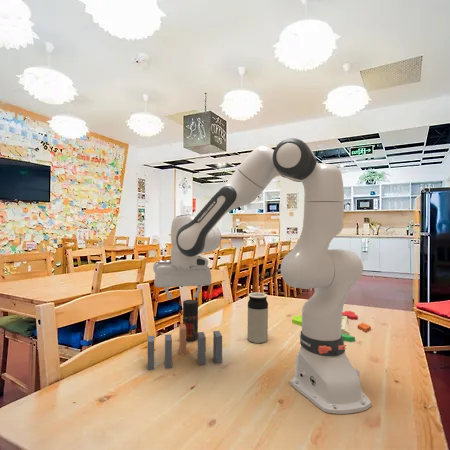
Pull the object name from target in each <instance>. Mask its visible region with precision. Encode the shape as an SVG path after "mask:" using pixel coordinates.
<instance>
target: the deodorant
mask: <svg viewBox="0 0 450 450" xmlns="http://www.w3.org/2000/svg"><path fill="white" fill-rule="evenodd" d="M182 324H185V326H186V343H193V342H194V343H195V342H196V341H197V342H198V332H199V300H198V299H197V300H196V299H185V300H183V301H182Z"/></svg>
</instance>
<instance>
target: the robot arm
mask: <svg viewBox="0 0 450 450" xmlns="http://www.w3.org/2000/svg"><path fill="white" fill-rule="evenodd" d="M276 177H282V178H285V179H287V180H290V181H293V182H298V183H301V184H302V185H303V189H304V192H303V193H304V195H303V197H304V199H303V200H304V201H303V218H302V219H303V220H302V221H303V222H302V228H301V229H302V230H301V233H300V235H299V239H298V240H297V242H296V244H295V246H293V248H292V249H291V250H290V251H289V252H288V253H287V254H286V255H285V256H284V257H282V261H281V264H280V274H281V278H282V279H283V281H284V283H285V284H286V285H287V286H288V287H290V288H295V289H296V288H297V289H303V290H307V289H309V290H310V289H315V291H314V293H313V294H312V296H311V297H310V298H308V299H307V300H306V301H305V302H304V304H303V306H302V310H301V316H302V326H301V331H300V335H299V340H300V341H299V344H300V349H299V350H298V352H297V353H296V356H295V357H296V358H295V363H294V364H295V367H294V374H293V375H294V376H293V377H291V379H290V381H289V384H290V386H292V387H293V388H294V389H296V390H297V391H298V392H299V393H301V394H302V395H303V396H304V397H305V398H307V399H308V400H309V401H310V402H312V403H313V404H314V405H315V406H316V407H318V408H319V409H320V410H321V411H323V412H325V413H329V414H335V415H336V414H337V415H343V414H345V415H346V414H353V413H359V412H363V411H366V410H367V409H370V408H371V406H372V400H370V398H369V397H368V396H367V394H366V393H365V392H364V391H363V390H362V385H361V383H362V382H361V379H360V371H359V369H358V368H354V366H353V364H352V362H351V361H350V359H349V357H348V356H347V354H346V350H347V348H346V347H347V345H346V344H345V341H343V337H342V335H341V323H342V312H343V308H344V305H345V303H346V300H347V297H348V295H349V293H350V291H351V289H352V288H353V287H354V285H355V284H356V283H357V282H359V280H360V279H361V278H362V276H363V272H364V265H363V262H362V259H361V257H360V256H359V255H358V254H357V253H356V252H354V251H350V250H345V249H340V248H337V249H336V248H335V249H334V248H333V249H329V246H330V244H331V242H332V240H333V239H334V238H335V237H336V236H337V235H339V234H341V232H342V231H343V229H344V218H345V217H344V216H345V215H344V212H345V211H344V210H345V208H344V207H345V203H344V202H345V191H344V181H343V176H342V171H341V169H340V168H339V167H337V166H336V165H334V164H331V163H320V162H318V160H317V157H316V155H315V153H314V151H313V149H312V148H311V147H310V146H309V145H308V144H307V143H306V142H304V141H303V140H301V139H298V138H293V137H292V138H286V139H284V140H281V141H280V142H279V143H278V144H277V145H276V146H275V148H274V149H273V148H271V147H269V146H268V145H267V146H266V145H259V146H257V147H255V149H253V150H252V151H251V152H250V153H248V155H247V156H246V157H245V158H244V160H242V162H241V163H240V164H239V165H238V167H237V168H236V169H235V171H234V172H233V173H232V174H231V175H230V177H229V178H228V180H227V181H225V183H224V184H223V186H222V187H221V188H220V189H219V190H218V191H216V193H215V194H214V195H213V196H212V197H211V198H210V199H209V200H208V201H207V203H205V206H203V208H202V209H201V210H200V211H199V212H198V213H197V215H196V216H195V215H194V214H182V215H181V214H180V215H177V216H175V217H174V218H173V219H172V222H171V228H170V229H171V230H170V241H171V249H170V259H169V260H168V259H167V260H158V261H155V263H154V264H153V268H152V269H153V273H154V282H153V283H154V286H155V287H156V288H164V291H165V293H166V295H167V300H173V293H170V292H169V290H170V289H169V288H172V287H173V288H174V287H175V288H177V287H196V288H197V289H196V291H195V292H193V299H199V294H200V292H201V290H202V288H203V286H204V287H205V286H210V285H211V283H212V271H211V269H210V267H209V266H208V264H209V259H208V258H206V257H203V256H200V254H206V253H209V252H210V253H211V252H213V251H215V250H216V249H218V248H219V246H220V245H221V243H222V234H221V232H220V230H219V228H218V227H217V226H216V225H217V224H218V223H219V222H220V220H221V219H222V218H223V217H224V216H225V215H226V214H227V213H229V212H230V211H232V210H235V209H237V208H240V207H244V206H246V205H250V204H251V203H252V202H254V201H255V200H256V199H257V198H258V197H259V196H260V195H261V194H262V193H263V191H264V190H265V189H266V188H267V186H268V185H269V184H270V183H271V182H272V180H274V179H275V178H276Z"/></svg>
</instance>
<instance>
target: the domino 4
mask: <svg viewBox="0 0 450 450" xmlns="http://www.w3.org/2000/svg"><path fill="white" fill-rule="evenodd" d="M206 350H207V337H206V334H205V333H204V331H198V340H197V362H198V363H199V366H206V364H207V363H206V361H207V360H206V359H207V355H206V354H207V351H206Z"/></svg>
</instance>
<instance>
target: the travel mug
mask: <svg viewBox="0 0 450 450" xmlns="http://www.w3.org/2000/svg"><path fill="white" fill-rule="evenodd" d="M248 298H249V300H248V302H247V337H246V338H247V340H248V341H249V342H251V343H254V344H263V343H265V342H267V341H268V337H269V336H268V333H269V331H268V330H269V329H268V328H269V325H268V324H269V303H268V300H267V298H268V294H266V293H264V292H251V293H249V294H248Z"/></svg>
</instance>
